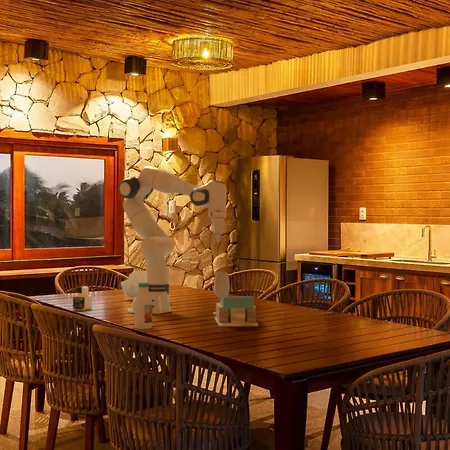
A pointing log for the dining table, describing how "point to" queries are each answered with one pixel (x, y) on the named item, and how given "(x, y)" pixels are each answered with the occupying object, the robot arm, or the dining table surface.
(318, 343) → the dining table surface
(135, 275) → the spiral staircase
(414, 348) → the dining table surface
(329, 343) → the dining table surface
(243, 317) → the stacked beige blocks
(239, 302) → the green flat slab
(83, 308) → the medicine bottle
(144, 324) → the milk bottle
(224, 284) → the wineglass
